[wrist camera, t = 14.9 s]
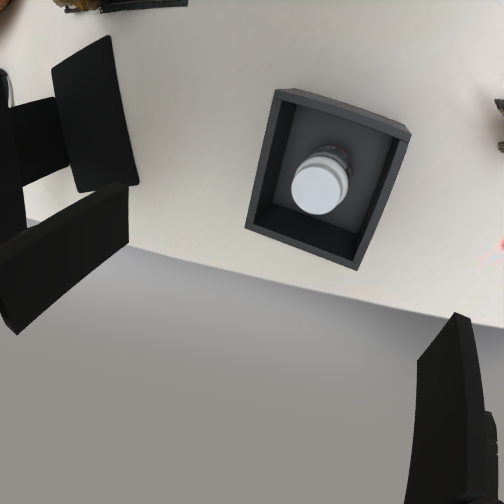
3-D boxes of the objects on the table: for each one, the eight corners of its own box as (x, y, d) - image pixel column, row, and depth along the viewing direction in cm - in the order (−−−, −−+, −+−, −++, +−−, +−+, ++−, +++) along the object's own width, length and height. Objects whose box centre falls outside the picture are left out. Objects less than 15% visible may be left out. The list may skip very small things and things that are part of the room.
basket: (294, 88, 30) (274, 89, 24) (404, 125, 27) (411, 134, 22) (266, 203, 37) (244, 228, 32) (361, 239, 35) (357, 271, 30)
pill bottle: (339, 197, 33) (326, 230, 26) (300, 174, 33) (277, 201, 27) (361, 160, 30) (356, 183, 23) (321, 136, 31) (302, 152, 24)
